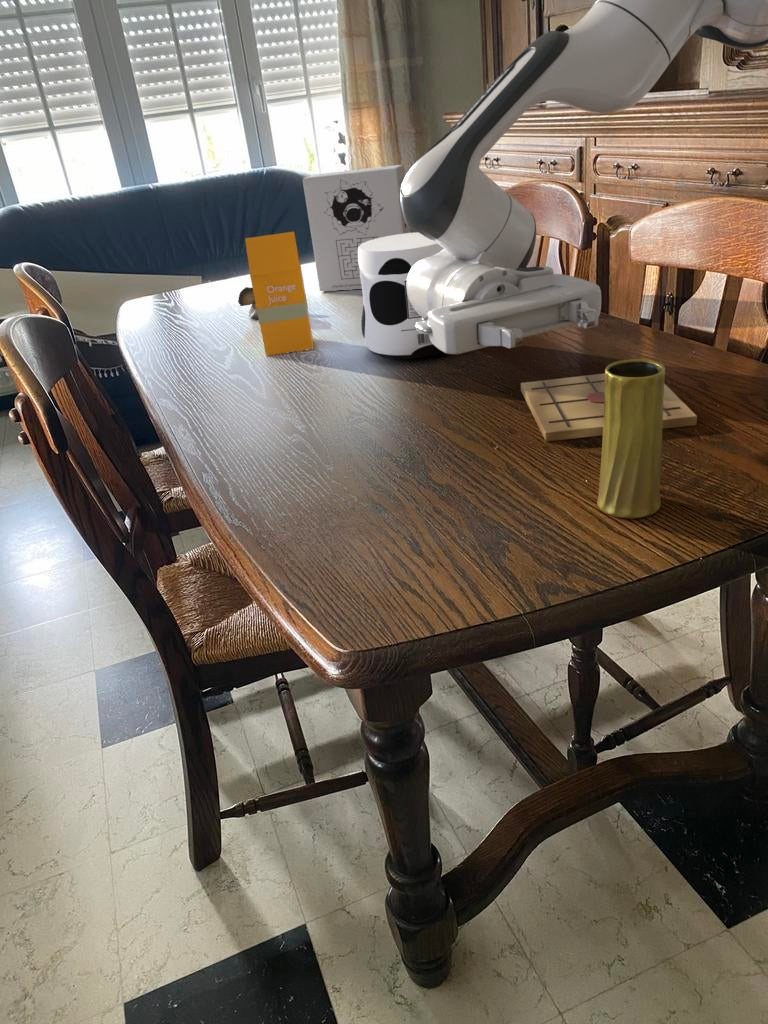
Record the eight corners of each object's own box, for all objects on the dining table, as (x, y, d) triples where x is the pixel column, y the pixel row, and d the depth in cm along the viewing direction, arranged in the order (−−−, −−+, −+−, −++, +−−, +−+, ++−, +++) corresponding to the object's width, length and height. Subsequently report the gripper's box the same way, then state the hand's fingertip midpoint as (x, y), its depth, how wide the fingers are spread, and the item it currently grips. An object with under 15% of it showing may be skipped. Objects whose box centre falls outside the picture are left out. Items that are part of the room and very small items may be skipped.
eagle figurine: (236, 308, 167) (231, 310, 159) (248, 278, 166) (244, 278, 157) (268, 323, 169) (264, 326, 160) (280, 293, 167) (277, 295, 158)
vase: (588, 494, 78) (591, 362, 71) (647, 486, 78) (655, 354, 71) (608, 523, 72) (613, 383, 66) (670, 514, 72) (682, 374, 66)
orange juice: (267, 344, 143) (245, 235, 133) (313, 338, 143) (295, 228, 133) (265, 356, 136) (242, 242, 126) (313, 349, 136) (294, 234, 126)
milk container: (402, 332, 139) (391, 230, 130) (484, 338, 130) (478, 229, 121) (345, 361, 127) (329, 252, 119) (430, 371, 118) (419, 253, 109)
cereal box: (415, 279, 178) (404, 164, 165) (408, 286, 171) (397, 168, 159) (328, 285, 183) (312, 174, 171) (319, 292, 177) (301, 178, 165)
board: (649, 376, 105) (649, 367, 104) (696, 425, 89) (697, 415, 89) (520, 390, 106) (520, 381, 105) (545, 441, 90) (545, 431, 90)
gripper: (405, 297, 84) (466, 320, 73) (557, 263, 91) (634, 280, 79) (411, 351, 87) (470, 382, 76) (557, 314, 94) (632, 338, 82)
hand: (555, 329), depth 78 cm, fingers open, 8 cm apart
